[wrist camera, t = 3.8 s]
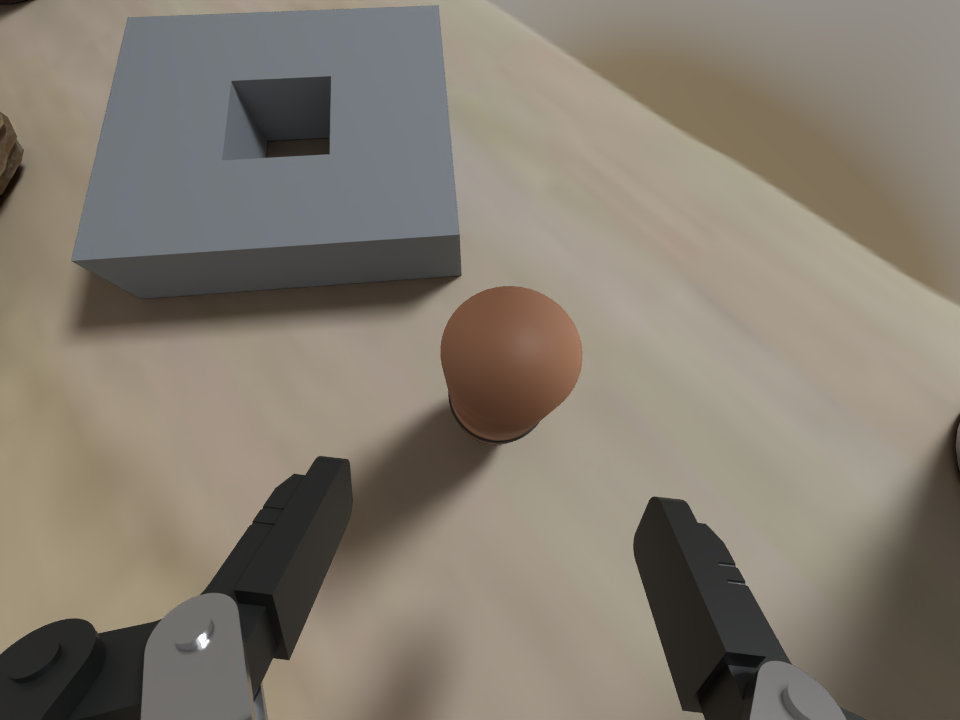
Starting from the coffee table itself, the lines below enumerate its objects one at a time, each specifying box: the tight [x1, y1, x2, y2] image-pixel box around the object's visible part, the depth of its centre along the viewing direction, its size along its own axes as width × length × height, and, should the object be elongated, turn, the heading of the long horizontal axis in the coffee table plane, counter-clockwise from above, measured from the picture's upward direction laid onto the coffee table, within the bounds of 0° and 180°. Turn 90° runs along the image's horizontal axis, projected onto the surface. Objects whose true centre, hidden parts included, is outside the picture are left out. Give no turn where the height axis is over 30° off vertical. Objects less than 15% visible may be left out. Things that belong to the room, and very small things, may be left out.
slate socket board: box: [71, 5, 461, 299], centre depth 23 cm, size 18×16×4 cm
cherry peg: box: [441, 286, 582, 445], centre depth 16 cm, size 4×4×10 cm
